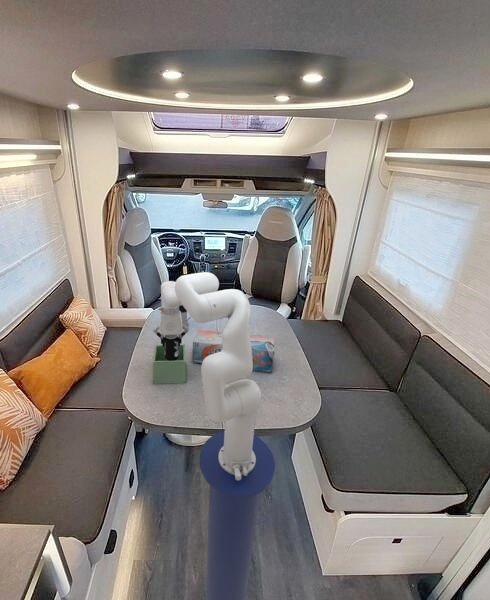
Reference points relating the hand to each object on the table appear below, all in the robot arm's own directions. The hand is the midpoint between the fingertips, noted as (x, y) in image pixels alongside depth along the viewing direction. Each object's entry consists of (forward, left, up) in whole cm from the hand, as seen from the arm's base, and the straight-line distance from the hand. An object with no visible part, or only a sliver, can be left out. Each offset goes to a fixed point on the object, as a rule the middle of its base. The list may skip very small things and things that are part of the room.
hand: (171, 344), depth 143 cm
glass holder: (+53, -7, -18) cm, 56 cm away
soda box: (+11, -31, -18) cm, 37 cm away
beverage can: (0, 0, -7) cm, 7 cm away
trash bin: (+2, +1, -17) cm, 18 cm away
